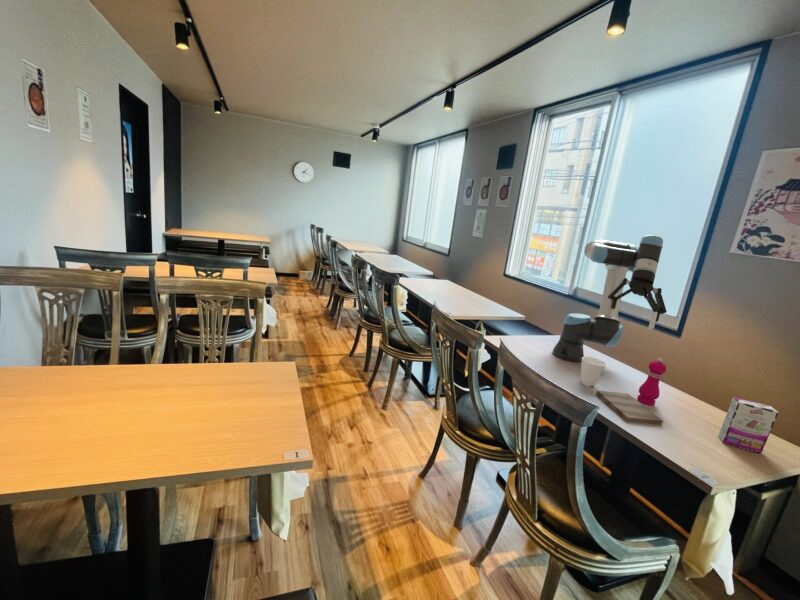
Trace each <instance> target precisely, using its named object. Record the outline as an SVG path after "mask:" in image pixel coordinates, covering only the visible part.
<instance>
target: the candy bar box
mask: <svg viewBox="0 0 800 600" xmlns="http://www.w3.org/2000/svg"><path fill="white" fill-rule="evenodd" d="M779 413H780V412H779V411H778V410H777V409H776V408H774V407H773V406H771V405H767V404H764V403H759V402H755V401H751V400H747V399H744V398H739V397H735V396H733V397H732V399H731V401H730V404H729V406H728V410H727V412H726V415H725V418H724V420H723V423H722V425H721V428H720V430H719V432H718V436H717V437H718V439H719V438H720V439H721V440H720V439H719V440H720V441H721V443H722V444H724V443H726V444H725V445H728V444H730V445H729V446H731V445H734V446H733V447H735V446H737V447H736V448H738V447H741V448H740V449H742V448H745V449H744V450H746V449H749V450H753V451H757V452H760V453H761V454H762V452H763V450H764V448H765V446H766V444H767V442H768V439H769V436H770V433H771V431H772V430H773V427H774V424H775V422H776V419H777V417H778V416H779ZM749 450H748V451H749ZM753 451H752V452H753ZM760 453H759V454H760Z"/></svg>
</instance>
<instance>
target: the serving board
mask: <svg viewBox="0 0 800 600" xmlns="http://www.w3.org/2000/svg"><path fill="white" fill-rule="evenodd" d="M595 395H596V396H597V397H598V398H599V399H600V400H601V401H603V403H604V404H606V405H607V407H609V408H610V409H611V410H613V412H615V414H617V416H619V417H620V418H621V419H622V420H623V421H624V422H626V423H633V424H642V425H643V424H644V425H653V426H662V425H663V423H664V420H663V419H662V418H660V417H659V416H658V415H656V413H654V412H653V411H651V410H650V409H649V408H648V407H646V406H645V404H643V403H641V402H639V401H638V400H637V398H635V397H633V396H632V395H631V394H629V393H628V392H616V391H606V390H599V389H597V390H596V392H595Z"/></svg>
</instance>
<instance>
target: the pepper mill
mask: <svg viewBox="0 0 800 600" xmlns="http://www.w3.org/2000/svg"><path fill="white" fill-rule="evenodd" d="M648 369H649V370H648V372H647V374H648V375H647V378H646V379H645V381H644V382H643V383H641V385H640V386H639V389H638V393H639V394H638V396H637V397H636V400H637V401H638V402H640V403H641V404H642V405H644V406H645V405H646V406H649V407H653V406H655V405H656V400H657V399H659V397H660V387H659V384H660V380H661V379H662V378H663V374H665V373H666V371H667V365H666V364H665V363H663V358H661V357H659V358H657V360H652V361H650V363H649V364H648Z"/></svg>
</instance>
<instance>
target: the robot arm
mask: <svg viewBox="0 0 800 600" xmlns="http://www.w3.org/2000/svg"><path fill="white" fill-rule="evenodd" d="M663 245H664V240H663V238H662V237H660V236H659V235H656V234H647V235H644V236H642V237H641V239H640V242H639V246H638V248H637V246H636V245H634V244H631V243H628V242H627V243H626V242H619V241H618V242H617V241H613V240H612V241H611V240H607V239H606V240H605V239H597V240H592V241H589V242H588V243H587V244H586V245H585V247H584V254H585V256H586V258H588V259H589V260H591V262H593V263H597V264H602V265H603V264H604V265H605V266H604V268H605V269H606V270H607V272H606V276H605V283H604V286H603V291H602V294H601V295H602V296H601V301H600V306H599V310H598V314H597V315H595V316H594V319H592V317H591V316H590V315H588V314H584V313H577V312H576V313H575V312H574V313H573V312H572V313H568V314H566V315H565V319H564V320H563V326H562V329H561V333H560V336H559V340H558V341H557V343H556V344H555V345H554V347H553V349H552V354H553V355H554V356H556V357H558V358H560V359H562V360H565V361H569V362H573V363H582V357H585V354H584V344H585V342H588V343H592V344H596V345H602V346H604V347H605V346H606V347H615V346H617V345H618V343H619V342H620V341H621V338H622V335H623V332H624V327H623V325H621V320H620V319H619V316H618V315H619V312H620V306H621V301H622V298H623V297H625V296H627V295H629V294H630V293H631V292H632V293H633V295H638V296H640V297H644V299H645V300H646V301H647V303H648V305H649V306H650V308H651V309H652V313H651V315H650V319H649V324H648V328H647V330H650V331H651V330H654V329H655V326H656V323H657V322H658V321H659V319H660V315H664V314H666V313H667V308H666V305H665V302H664V298H663V295H662V292H663V291H662V288H661V287H659V288H657V287H654V282H655V279H656V274H657V269H658V265H659V262H660V258H661V252H662V250H663ZM629 272H631V273H632V274H631V279H630V280H629V279H628V278H627V273H629ZM627 285H628V286H629V289H626V291H624V287H625V286H627ZM652 293H653V294H654V297H653V294H652Z"/></svg>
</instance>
